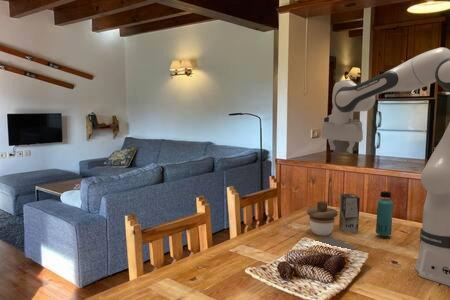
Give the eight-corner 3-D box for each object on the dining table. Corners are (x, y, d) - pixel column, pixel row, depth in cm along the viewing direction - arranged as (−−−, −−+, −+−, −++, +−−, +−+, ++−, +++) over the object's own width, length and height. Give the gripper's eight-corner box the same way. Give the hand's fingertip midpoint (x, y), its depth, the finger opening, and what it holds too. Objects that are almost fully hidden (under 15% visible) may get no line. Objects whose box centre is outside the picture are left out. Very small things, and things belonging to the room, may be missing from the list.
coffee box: (358, 233, 170) (360, 198, 168) (344, 233, 170) (345, 198, 168) (352, 227, 179) (353, 193, 177) (338, 226, 179) (339, 193, 177)
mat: (358, 250, 150) (358, 248, 150) (328, 258, 142) (329, 256, 142) (328, 238, 164) (328, 236, 164) (299, 244, 156) (299, 243, 156)
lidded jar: (336, 233, 170) (337, 212, 169) (329, 240, 161) (330, 218, 160) (313, 229, 176) (314, 209, 175) (305, 235, 167) (306, 214, 166)
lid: (343, 215, 165) (344, 203, 165) (321, 220, 159) (322, 207, 158) (322, 208, 176) (322, 197, 176) (300, 212, 170) (300, 201, 169)
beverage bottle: (388, 234, 169) (391, 190, 166) (393, 239, 162) (396, 193, 160) (373, 234, 169) (375, 189, 167) (377, 239, 163) (380, 193, 160)
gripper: (367, 119, 156) (365, 153, 158) (330, 118, 174) (328, 148, 176) (356, 119, 153) (355, 153, 155) (319, 118, 171) (318, 148, 172)
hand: (340, 150), depth 165 cm, fingers open, 8 cm apart
